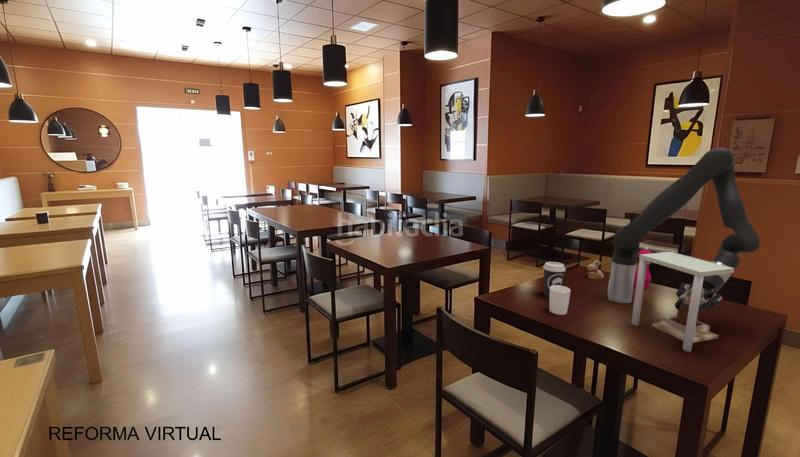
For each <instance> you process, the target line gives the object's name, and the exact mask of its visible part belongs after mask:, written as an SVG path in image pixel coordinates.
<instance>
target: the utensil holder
mask: <svg viewBox="0 0 800 457" xmlns="http://www.w3.org/2000/svg"><path fill="white" fill-rule="evenodd" d="M690 296H691V293H690V294H689V299H688V300H687V301H690V299H691V297H690ZM687 297H688V296H686V298H687ZM683 300H684V299H683ZM687 301H686V302H687ZM686 302H685V303H684V304H680V305H679V309H677V313H676V316H677V317H676V322H677V323H679V324H681V325H684V326H686V324H687V318H688V311H689V305H690V302H687V303H686ZM697 321H698V319H697V320H696V322H697Z"/></svg>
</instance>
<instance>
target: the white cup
mask: <svg viewBox="0 0 800 457" xmlns="http://www.w3.org/2000/svg"><path fill="white" fill-rule="evenodd" d="M571 291H572V290H571V289H570V288H569V287H568V286H563V285H562V286H558V285H555V286H551V287H550V296H549V297H548V298H549V299H548V300H549V302H548V303H549V309H548V310H549V312H550V313H552V314H554V315H561V316H563V315H567V313H568V308H569V304H570V297H571Z"/></svg>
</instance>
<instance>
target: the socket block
mask: <svg viewBox="0 0 800 457" xmlns="http://www.w3.org/2000/svg"><path fill="white" fill-rule="evenodd" d="M676 317H677V315H671V316H666V317H665V316H663V317H662V318H661V319H662V320H661V321H660V322H655V323H652V324H651V326H652V327H653V328H656V329H657V330H659V331H662V332H664V333H666V334H668V335H670V336H672V337H675V338H676V339H679V340H681V341H682V342H684V336H685V330H686V326H684V325H681V324H679V323H677V322H676ZM710 326H711V325H709V324H706V323H704V322H701V321H699V320H697V322H696V326H695V332H694V338H693V343H698V342H704V341H710V340H715V339H719V334H716V333H714V332H712V331H710V328H711V327H710Z"/></svg>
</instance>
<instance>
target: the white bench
mask: <svg viewBox="0 0 800 457" xmlns="http://www.w3.org/2000/svg"><path fill="white" fill-rule="evenodd" d="M638 258H639V259H640V262H638V263H639V264H638V268H639V270H638V269H637V270H638V277H637V285H636V287H635V292H634V300H633V310H632V316H631V325H633V326H635V327H636V326H638V327H639V325H640V317H641V312H642V304H643V296H644V291H645V290H644V282H645V275H646V268H647V261H649V262H650V263H654V264H657V265H660V266H663V267H667V268H670V269H674V270H677V271H680V272H682V273H686V274H690V275H693V281H692V283H693V287H692V293H691V299H689V304H690V305H689V311H688V318H687V324H686V330H685V336H684V341H682V342H683V344H682V350H683V351H685V352H689V353H690V352H692V348H693V338H694V332H695V326H696V320H697V321H698V315H699V314H698V308H699V302H700V296H701V290H702V285H703V279H704V276H711V275H719V274H727V273H732V274H734V272H735V270H734V268H731V267H727V266H724V265H720V264H716V263H712V262H711V261H708V260H703V259H700V258H696V257H693V256H689V255H684V254H681V253H677V252H672V251H666V252H665V251H663V252H655V253H653V252H652V254H641V255H640V257H638ZM639 259H638V260H639ZM697 314H698V315H697Z"/></svg>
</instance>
